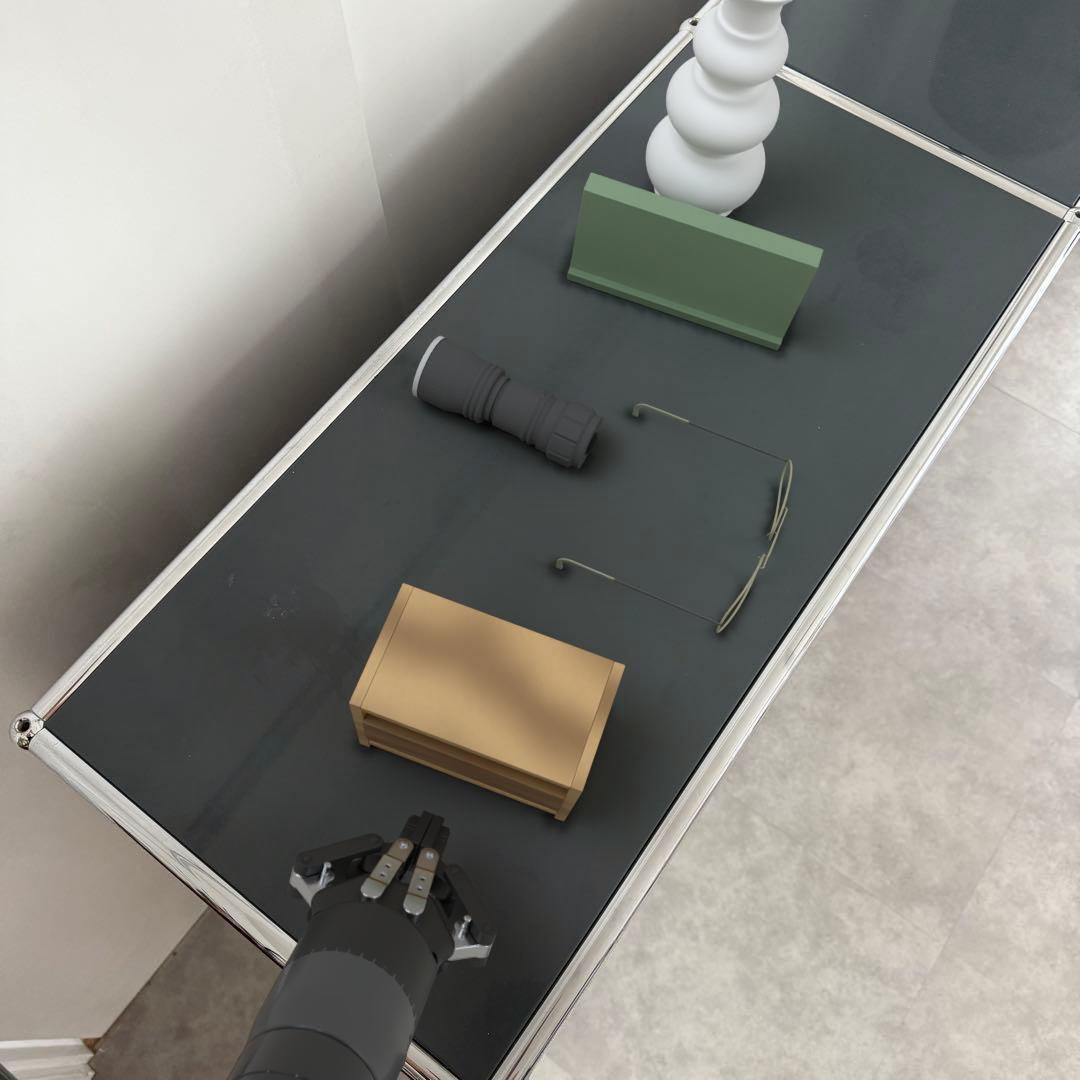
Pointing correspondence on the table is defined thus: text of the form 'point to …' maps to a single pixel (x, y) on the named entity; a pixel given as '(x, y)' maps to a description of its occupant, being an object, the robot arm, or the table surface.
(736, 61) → the vase
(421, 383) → the flashlight
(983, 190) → the table surface
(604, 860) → the table surface
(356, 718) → the wooden drawer chest
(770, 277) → the wall board
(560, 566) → the eyeglasses
